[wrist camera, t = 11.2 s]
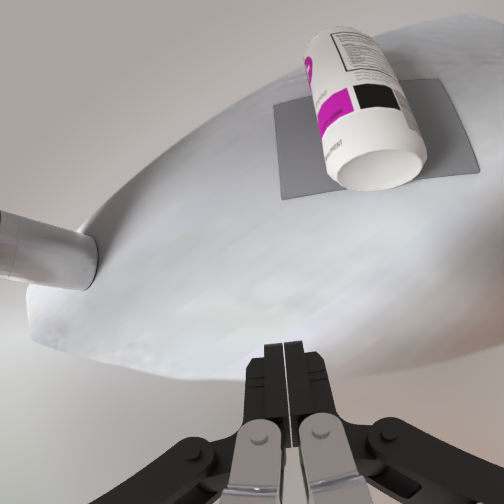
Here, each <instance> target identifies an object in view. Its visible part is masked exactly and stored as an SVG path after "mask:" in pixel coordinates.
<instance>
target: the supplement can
mask: <svg viewBox="0 0 504 504" xmlns="http://www.w3.org/2000/svg"><path fill="white" fill-rule="evenodd" d="M303 60H304V65H305V69H306V73H307V77H308V81H309V85H310V89H311V94H312V98H313V102H314V107H315V111H316V116H317V121H318V126H319V131H320V136H321V141H322V146H323V152H324V157H325V163H326V169H327V174H328V175H329V176H330V177H331V178H332V179H333V180H335V181H337V182H338V183H339V184H340V185H341V186H343V187H345V188H348V189H350V190H357V191H379V190H386V189H390V188H394V187H397V186H400V185H403V184H405V183H407V182H409V181H411V180H412V179H413V178H415V177H416V176H417V175H418V174H419V173H420V171H421V170H422V168H423V165H424V163H425V161H426V160H427V150H426V147H425V144H424V141H423V138H422V136H421V133H420V130H419V128H418V125H417V123H416V120H415V118H414V115H413V113H412V110H411V108H410V106H409V103H408V101H407V99H406V97H405V95H404V92H403V90H402V88H401V86H400V84H399V82H398V80H397V78H396V76H395V74H394V72H393V70H392V68H391V66H390V65H389V63H388V61H387V59H386V57H385V56H384V54H383V52H382V50H381V49H380V47H379V45H378V44H377V43H376V42H375V41H374V40H373V39H372V38H371V37H370V36H368V35H366V34H363V33H362V32H360V31H358V30H355V29H353V28H350V27H340V26H337V27H332V28H327V29H325V30H323V31H321V32H319V33H317V34H316V35H315V36H314V37H313V38H312V40H311V41H310V42H309V45H308V47H307V48H306V51H305V54H304V57H303Z"/></svg>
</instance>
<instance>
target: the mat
mask: <svg viewBox="0 0 504 504" xmlns="http://www.w3.org/2000/svg"><path fill="white" fill-rule="evenodd" d="M398 82H399V84H400V86H401V88H402V90H403V92H404V95H405V97H406V99H407V101H408V103H409V106H410V108H411V110H412V113H413V115H414V118H415V120H416V123H417V125H418V128H419V130H420V133H421V136H422V138H423V141H424V144H425V147H426V150H427V160H426V161H425V163H424V165H423V168H422V170H421V171H420V173H419V174H418V175H417V176H416V177H415V178H413V179H412V180H417V179H426V178H434V177H444V176H454V175H464V174H476V173H479V172H480V171H479V168H478V165H477V162H476V159H475V156H474V154H473V151H472V148H471V146H470V143H469V141H468V138H467V136H466V133H465V131H464V129H463V126H462V124H461V122H460V120H459V118H458V115H457V113H456V111H455V109H454V107H453V105H452V103H451V101H450V99H449V97H448V95H447V93H446V92H445V90H444V88H443V86H442V84H441V82H440V81H439V79H438V78H437V79H419V80H406V81H398ZM273 108H274V118H275V128H276V139H277V151H278V163H279V175H280V188H281V199H282V200H286V199H291V198H297V197H302V196H308V195H314V194H320V193H326V192H332V191H338V190H345V189H348V188H345V187H343V186H341V185H340V184H339V183H338V182H337V181H335V180H333V179H332V178H331V177H330V176H329V175H328V174H327V169H326V163H325V157H324V152H323V146H322V141H321V136H320V131H319V126H318V121H317V116H316V111H315V107H314V102H313V98H312V96H308V97H303V98H299V99H295V100H291V101H287V102H284V103H280V104H276V105H273Z"/></svg>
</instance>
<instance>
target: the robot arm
mask: <svg viewBox="0 0 504 504" xmlns="http://www.w3.org/2000/svg"><path fill="white" fill-rule="evenodd" d="M97 259H98V253H97V246H96V243H95V240H94V239H93V238H92V237H91V236H88V235H85V234H81V233H77V232H74V231H71V230H67V229H63V228H60V227H56V226H53V225H49V224H46V223H42V222H39V221H35V220H32V219H28V218H25V217H22V216H18V215H15V214H11V213H8V212H5V211H1V210H0V279H5V280H11V281H17V282H24V283H30V284H36V285H43V286H50V287H57V288H64V289H72V290H80V291H84V290H86V289H87V288H88V287H89V286H90V284H91V283H92V281H93V278H94V275H95V272H96V268H97ZM284 350H285V361H286V372H287V383H288V394H289V405H290V416H291V428H292V441H293V447H299V457H300V469H301V474H302V480H303V486H304V491H305V497H306V503H307V504H373V501H372V498H371V495H370V492H369V489H368V486H367V483H369V484H370V485H372V486H373V487H375V488H377V489H378V490H380V491H382V492H383V493H385V494H387V495H388V496H390V497H392V498H393V499H395V500H397V501H399V502H401V503H402V504H504V468H503V467H500V466H498V465H495V464H492V463H490V462H488V461H485V460H483V459H481V458H478V457H476V456H474V455H471V454H469V453H467V452H465V451H463V450H461V449H458V448H456V447H454V446H452V445H450V444H448V443H445V442H444V441H441V440H439V439H437V438H435V437H433V436H431V435H429V434H427V433H425V432H423V431H422V430H420V429H418V428H416V427H414V426H412V425H410V424H408V423H406V422H404V421H403V420H400V419H398V418H394V417H387V418H383V419H380V420H378V421H376V422H375V423H374V424H373V425H356V424H351V423H348V422H346V421H344V420H343V419H341V418H340V417H339V415H338V414H337V412H336V409H335V404H334V400H333V396H332V392H331V387H330V383H329V380H328V375H327V372H326V367H325V363H324V359H323V358H322V357H321V356H320V355H319V354H318V353H317V352H316V351H315V352H308V353H304V349H303V343H302V341H293V342H285V343H284ZM245 383H246V384H245V399H244V418H243V423H242V426H241V427H240V429H239V430H238V431H237V432H236V433H235V434H233V435H232V436H230V437H227V438H225V439H221V440H218V441H213V442H208V441H207V440H205V439H203V438H200V437H188V438H185V439H183V440H181V441H179V442H178V443H177V444H175V445H174V446H173V447H171V448H170V449H169V450H168V451H166V452H165V453H164V454H162V455H161V456H160V457H158V458H157V459H156V460H154V461H153V462H151V463H150V464H149V465H147V466H146V467H145V468H143V469H142V470H140V471H139V472H137V473H136V474H135V475H134V476H132V477H130V478H129V479H127V480H126V481H124V482H123V483H121V484H120V485H118V486H117V487H115V488H114V489H112V490H110V491H109V492H107V493H106V494H104V495H102V496H101V497H99V498H97V499H96V500H94V501H92V502H91V503H89V504H213V503H214V502H215V501H216V500H217V499H218V498H220V502H219V504H283V497H284V496H283V495H284V479H285V465H286V448H290V447H291V439H290V426H289V414H288V401H287V389H286V377H285V366H284V356H283V345H282V343H276V344H266V345H264V357H263V358H252V359H251V361H250V363H249V364H248V366H247V368H246V382H245ZM366 482H367V483H366Z"/></svg>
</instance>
